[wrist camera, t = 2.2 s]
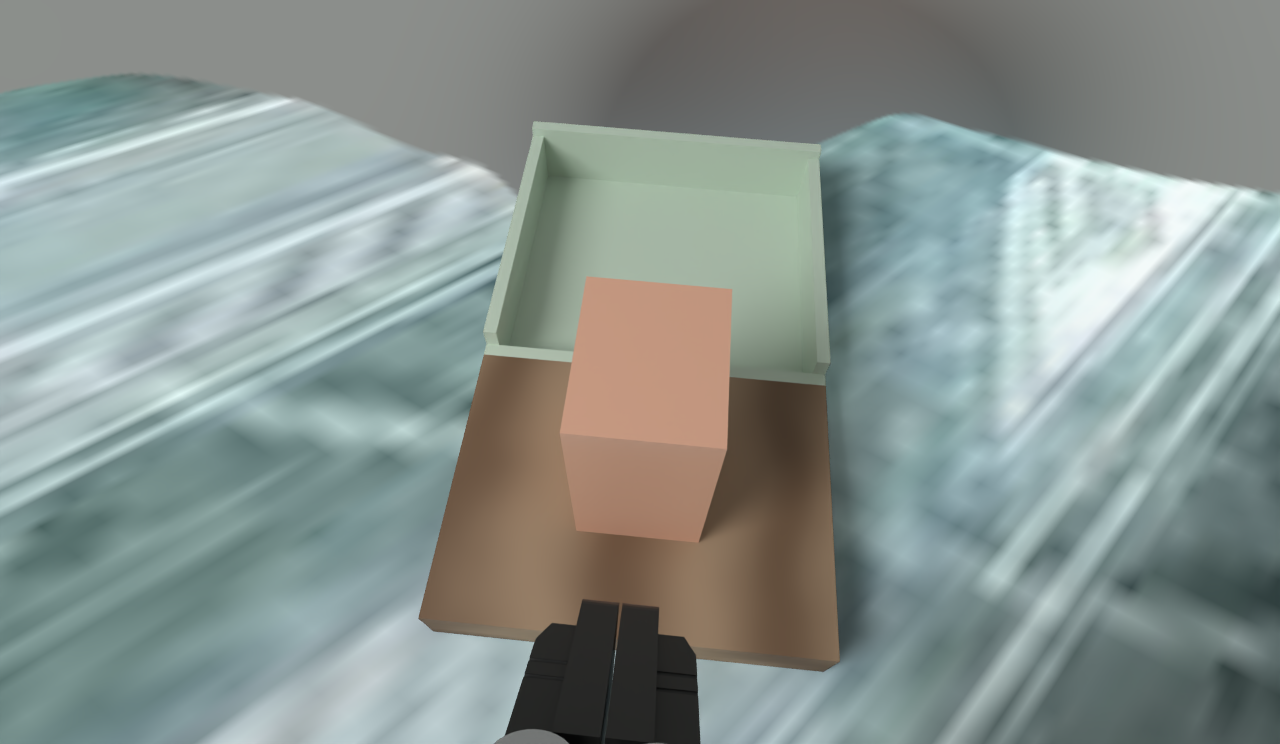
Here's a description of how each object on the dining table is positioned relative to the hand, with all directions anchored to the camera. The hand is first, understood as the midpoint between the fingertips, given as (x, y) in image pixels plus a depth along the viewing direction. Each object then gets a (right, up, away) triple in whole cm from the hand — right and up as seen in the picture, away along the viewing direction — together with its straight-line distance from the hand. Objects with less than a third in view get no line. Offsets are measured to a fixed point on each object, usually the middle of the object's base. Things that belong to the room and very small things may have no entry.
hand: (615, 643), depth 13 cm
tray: (+2, +10, +25) cm, 27 cm away
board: (0, -1, +18) cm, 18 cm away
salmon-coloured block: (+1, +1, +17) cm, 17 cm away
